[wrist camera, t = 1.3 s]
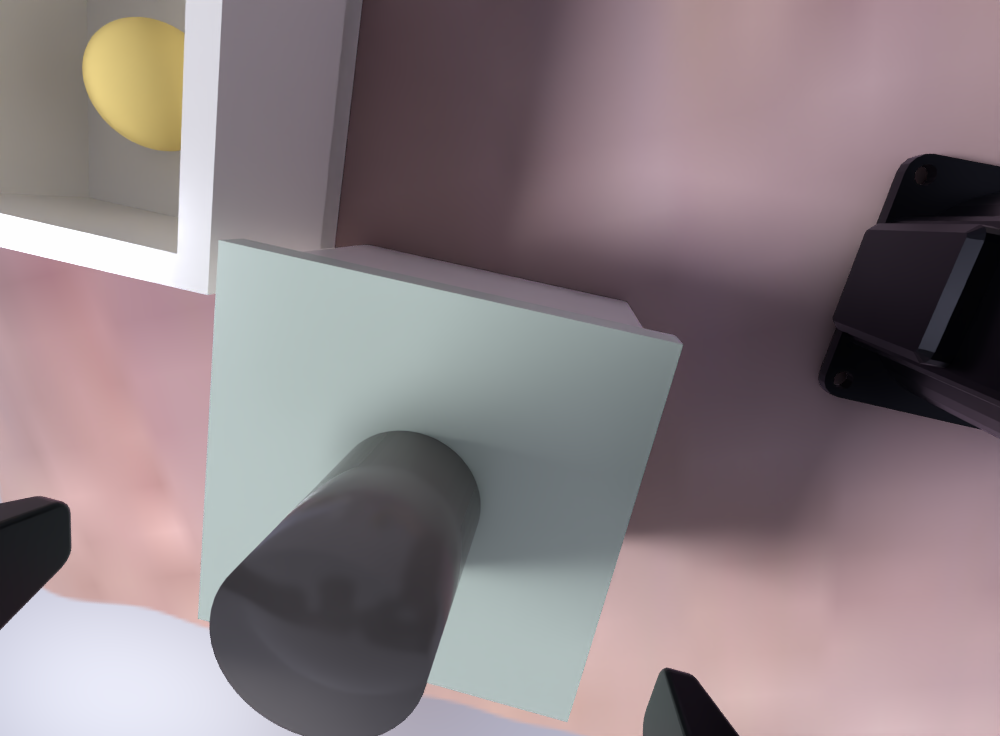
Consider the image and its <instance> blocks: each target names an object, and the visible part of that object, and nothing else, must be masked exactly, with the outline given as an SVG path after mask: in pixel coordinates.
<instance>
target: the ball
mask: <svg viewBox="0 0 1000 736" xmlns="http://www.w3.org/2000/svg"><path fill="white" fill-rule="evenodd" d="M184 37H185V33H184V32H182V31H180V30H179V29H177V28H175V27H174V26H172V25H169V24H167V23H165V22H162V21H159V20H156V19H152V18H146V17H125V18H121V19H117V20H114V21H112V22H109V23H107V24H106V25H104V26H103V27H101V28H100V29H99V30H98V31H97V32H95V34H94V35H93V36H92V37H91V39H90V41H89V42H88V44H87V46H86V49H85V52H84V55H83V61H82V74H83V80H84V84H85V88H86V91H87V94H88V96H89V98H90V100H91V102H92V104H93V106H94V107H95V109H96V110H97V112H98V113H99V114H100V116H101V117H102V118H103V119H104V120H105V121H106V122H107V123H108V124H109V125H110V126H111V127H112V128H113V129H114V130H115V131H117V132H118V133H119V134H121V135H122V136H123V137H125V138H127V139H128V140H130V141H132V142H134V143H136V144H139V145H141V146H143V147H147V148H150V149H154V150H160V151H180V150H181V127H182V97H183V67H184Z"/></svg>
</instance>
